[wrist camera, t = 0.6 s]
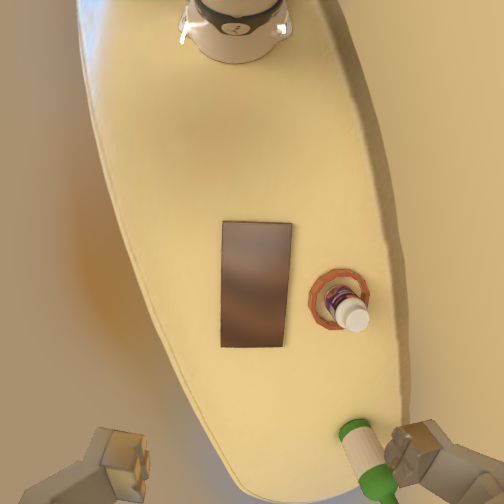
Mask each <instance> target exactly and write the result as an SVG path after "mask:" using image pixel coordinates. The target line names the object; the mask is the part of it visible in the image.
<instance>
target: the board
mask: <svg viewBox="0 0 504 504" xmlns="http://www.w3.org/2000/svg"><path fill="white" fill-rule="evenodd" d="M291 238H292V224H291V223H270V222H237V221H223V224H222V269H221V347H234V348H256V347H283V338H284V327H285V316H286V304H287V292H288V280H289V267H290V253H291Z"/></svg>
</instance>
